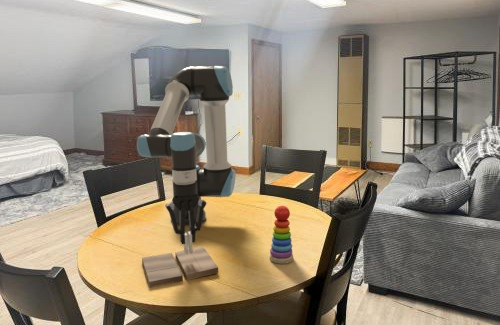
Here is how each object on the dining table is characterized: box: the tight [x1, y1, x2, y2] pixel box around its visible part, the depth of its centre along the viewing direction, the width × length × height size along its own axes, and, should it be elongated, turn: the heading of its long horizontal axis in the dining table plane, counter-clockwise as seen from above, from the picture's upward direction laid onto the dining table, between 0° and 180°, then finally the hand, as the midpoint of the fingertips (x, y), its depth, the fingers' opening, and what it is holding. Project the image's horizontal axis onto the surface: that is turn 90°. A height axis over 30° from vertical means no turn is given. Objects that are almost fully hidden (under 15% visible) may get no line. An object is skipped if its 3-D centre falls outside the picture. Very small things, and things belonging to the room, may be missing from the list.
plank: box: [175, 246, 219, 281], centre depth 138 cm, size 18×10×2 cm, turn 21°
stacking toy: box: [269, 205, 294, 265], centre depth 140 cm, size 8×8×19 cm
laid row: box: [141, 252, 184, 288], centre depth 134 cm, size 18×10×2 cm, turn 21°
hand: (188, 252), depth 137 cm, fingers closed
